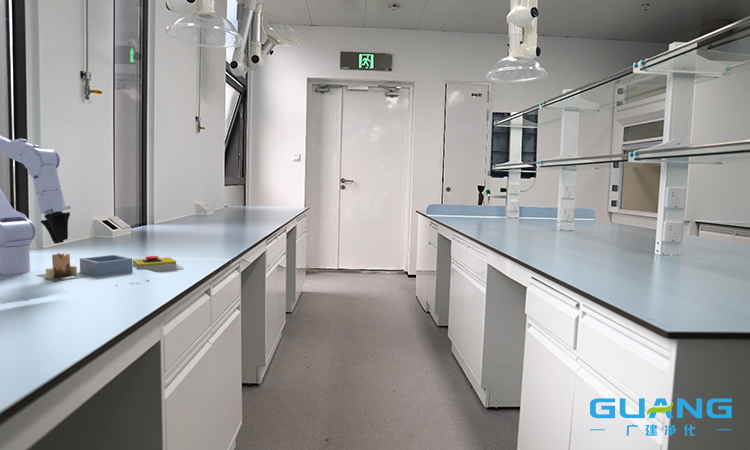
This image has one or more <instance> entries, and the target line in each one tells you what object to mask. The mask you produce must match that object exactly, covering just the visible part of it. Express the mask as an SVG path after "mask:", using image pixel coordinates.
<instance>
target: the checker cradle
mask: <svg viewBox="0 0 750 450" xmlns="http://www.w3.org/2000/svg"><path fill="white" fill-rule="evenodd" d="M77 268H78V267H77V266H76V265H70V276H69V277H62V278H55V277H53V268H50V267H48V268H45V273H42V274H36V275H35V276H37V277H39V278H42V279H46V280H48V281H51V282H55V283H57V282H65V281H70V280H71V281H72V280H76V279H77V280H79V279H85V278H87V276H85V275H82V274H78V272H77V271H78V269H77Z"/></svg>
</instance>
